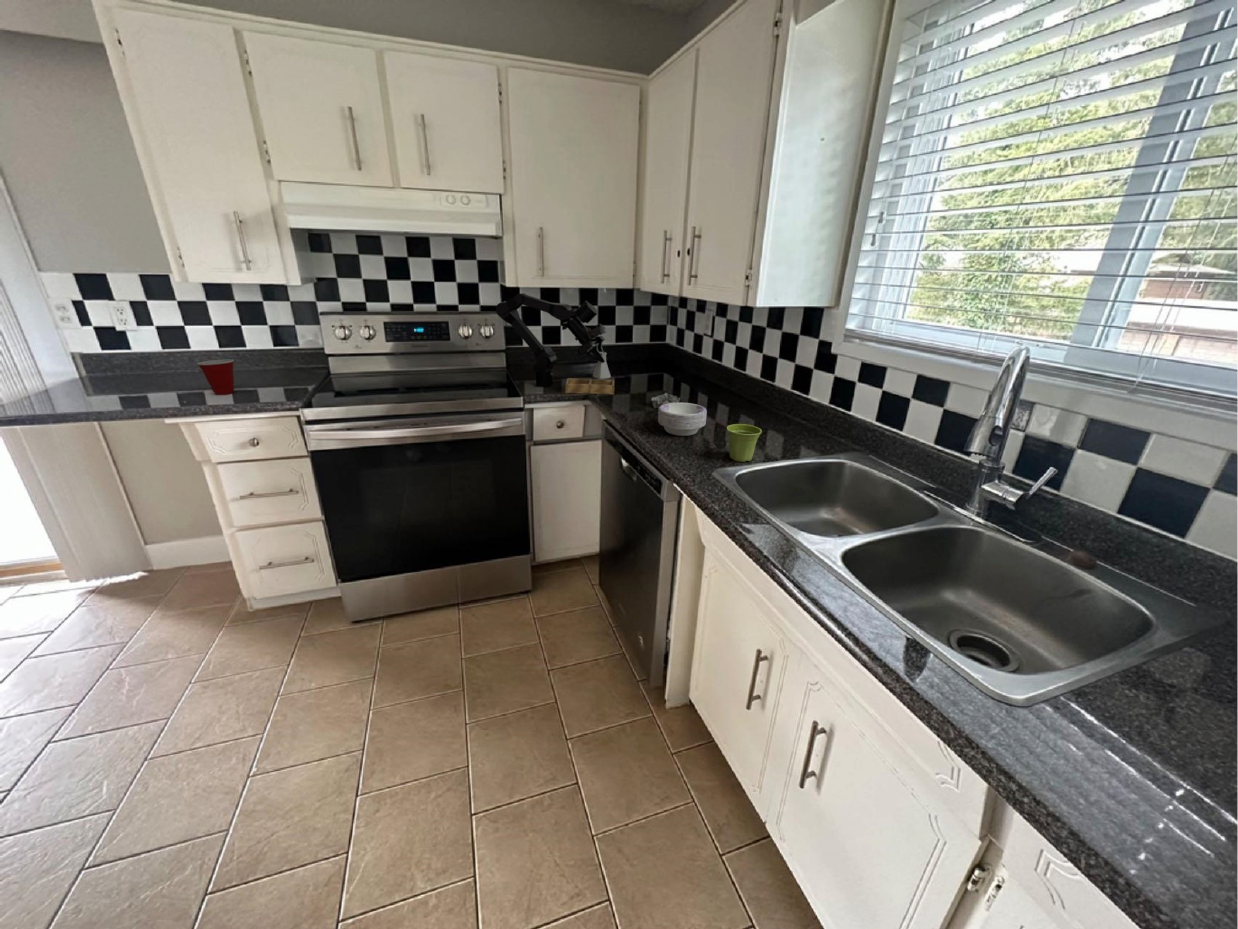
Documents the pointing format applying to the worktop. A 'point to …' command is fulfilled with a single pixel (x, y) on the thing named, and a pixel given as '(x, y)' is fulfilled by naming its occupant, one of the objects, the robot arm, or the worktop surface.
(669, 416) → the paper bowls
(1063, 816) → the worktop surface
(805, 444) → the worktop surface
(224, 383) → the plastic cup
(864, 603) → the worktop surface
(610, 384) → the wooden divided tray
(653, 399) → the egg carton
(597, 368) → the flask
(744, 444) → the plant pot
